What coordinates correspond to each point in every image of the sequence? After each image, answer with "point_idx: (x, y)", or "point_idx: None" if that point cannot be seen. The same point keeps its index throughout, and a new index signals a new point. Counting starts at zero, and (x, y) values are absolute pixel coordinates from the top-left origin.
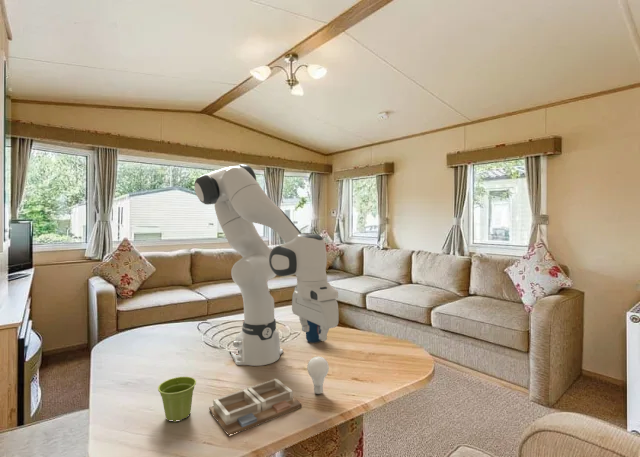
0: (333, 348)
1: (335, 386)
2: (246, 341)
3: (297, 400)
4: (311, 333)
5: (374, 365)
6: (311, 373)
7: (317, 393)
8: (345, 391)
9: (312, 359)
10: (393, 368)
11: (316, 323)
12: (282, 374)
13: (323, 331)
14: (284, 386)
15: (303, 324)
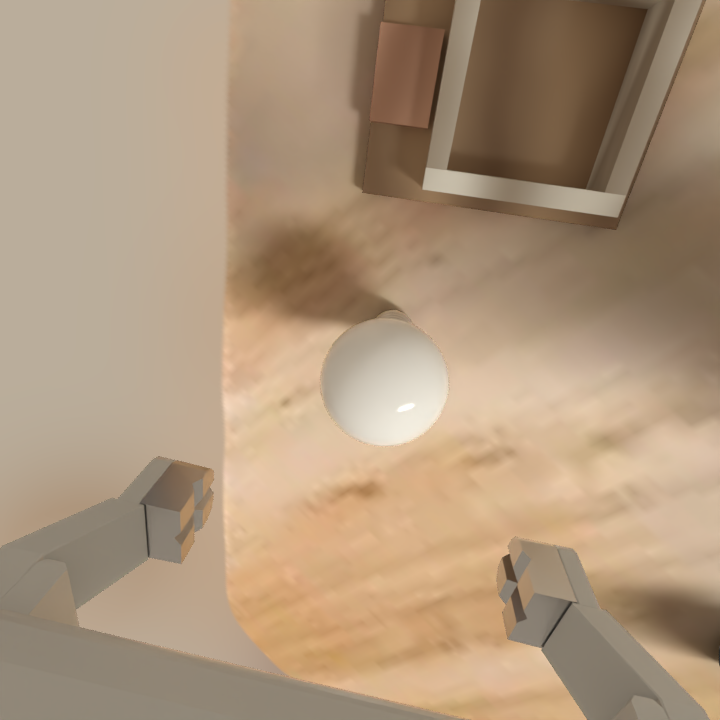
0: None
1: None
2: None
3: (398, 197)
4: None
5: (382, 588)
6: (375, 319)
7: (381, 313)
8: None
9: (397, 383)
10: (321, 598)
11: (42, 635)
12: (677, 338)
13: (37, 540)
14: (498, 187)
15: (581, 631)
